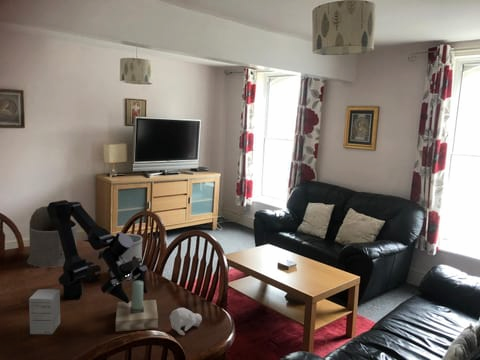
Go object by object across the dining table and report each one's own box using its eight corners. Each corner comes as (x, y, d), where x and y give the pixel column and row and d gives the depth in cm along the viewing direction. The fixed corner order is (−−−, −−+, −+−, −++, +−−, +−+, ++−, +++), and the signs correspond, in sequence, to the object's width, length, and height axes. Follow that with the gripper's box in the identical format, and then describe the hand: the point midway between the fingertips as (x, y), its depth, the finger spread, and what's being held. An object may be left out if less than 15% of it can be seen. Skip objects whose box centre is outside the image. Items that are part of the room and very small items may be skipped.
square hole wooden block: (115, 332, 130) (115, 321, 129) (117, 312, 143) (117, 302, 143) (157, 328, 134) (157, 317, 133) (155, 309, 147) (155, 299, 146)
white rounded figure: (169, 306, 132) (197, 300, 140) (166, 330, 133) (194, 323, 141) (178, 314, 127) (207, 307, 135) (175, 338, 128) (204, 330, 136)
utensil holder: (110, 282, 168) (110, 244, 166) (107, 270, 182) (107, 234, 179) (144, 279, 174) (145, 242, 172) (139, 267, 188) (139, 232, 185)
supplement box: (38, 322, 133) (38, 288, 131) (60, 323, 134) (60, 289, 132) (29, 334, 126) (28, 298, 124) (52, 334, 126) (52, 298, 124)
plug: (130, 322, 136) (131, 285, 134) (130, 316, 140) (131, 280, 138) (142, 321, 137) (143, 284, 135) (142, 316, 141) (143, 280, 139)
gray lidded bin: (67, 248, 208) (67, 203, 205) (94, 265, 187) (94, 215, 183) (20, 257, 192) (19, 208, 188) (44, 276, 170) (43, 222, 167)
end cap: (74, 277, 172) (74, 263, 171) (89, 273, 177) (89, 259, 176) (86, 284, 165) (86, 269, 164) (101, 280, 171) (101, 265, 170)
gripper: (107, 257, 129) (131, 296, 126) (144, 243, 145) (167, 277, 142) (90, 274, 134) (113, 312, 130) (128, 259, 150) (150, 292, 147)
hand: (137, 297), depth 137 cm, fingers open, 9 cm apart
